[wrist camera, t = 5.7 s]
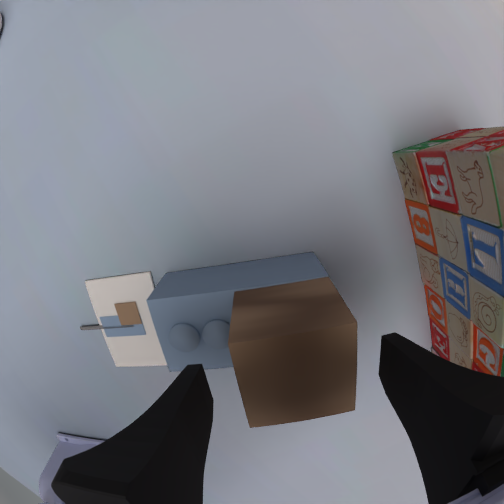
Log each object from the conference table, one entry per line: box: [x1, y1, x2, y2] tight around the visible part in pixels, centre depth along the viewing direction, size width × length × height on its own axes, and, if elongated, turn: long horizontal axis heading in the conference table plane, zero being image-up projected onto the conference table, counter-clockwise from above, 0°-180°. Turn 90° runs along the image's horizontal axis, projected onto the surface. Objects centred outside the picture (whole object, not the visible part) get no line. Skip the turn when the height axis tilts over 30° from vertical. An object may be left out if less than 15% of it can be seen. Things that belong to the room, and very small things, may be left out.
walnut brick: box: [228, 277, 357, 428], centre depth 13 cm, size 4×4×4 cm
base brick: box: [146, 252, 329, 372], centre depth 17 cm, size 9×4×4 cm, turn 99°
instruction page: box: [80, 271, 167, 367], centre depth 19 cm, size 7×7×1 cm
